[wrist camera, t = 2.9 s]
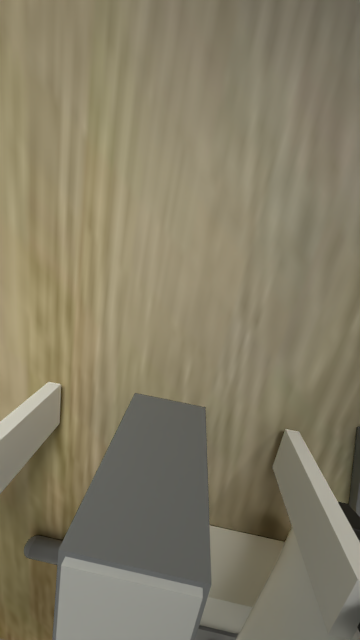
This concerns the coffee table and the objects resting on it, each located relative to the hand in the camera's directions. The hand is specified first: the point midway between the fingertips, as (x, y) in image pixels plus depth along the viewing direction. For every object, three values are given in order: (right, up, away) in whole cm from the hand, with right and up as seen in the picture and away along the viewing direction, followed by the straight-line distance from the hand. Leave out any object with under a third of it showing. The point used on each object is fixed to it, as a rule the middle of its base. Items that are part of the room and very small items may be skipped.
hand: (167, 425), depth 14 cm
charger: (0, -1, +1) cm, 1 cm away
